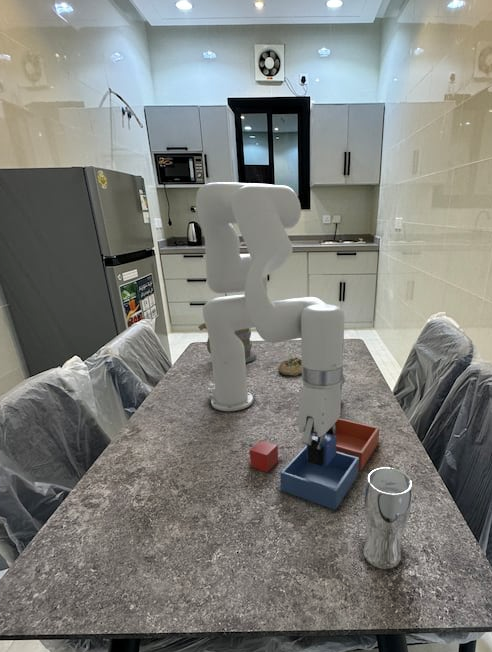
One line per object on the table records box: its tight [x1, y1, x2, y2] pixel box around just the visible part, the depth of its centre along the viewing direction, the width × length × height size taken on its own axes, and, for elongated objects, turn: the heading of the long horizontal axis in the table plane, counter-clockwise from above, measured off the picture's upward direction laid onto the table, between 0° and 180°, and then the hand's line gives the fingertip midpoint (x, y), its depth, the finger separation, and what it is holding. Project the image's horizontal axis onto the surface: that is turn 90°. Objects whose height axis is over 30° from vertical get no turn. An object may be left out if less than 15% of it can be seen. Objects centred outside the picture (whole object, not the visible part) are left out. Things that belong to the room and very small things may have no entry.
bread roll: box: [278, 356, 302, 376], centre depth 138 cm, size 11×11×5 cm
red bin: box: [333, 417, 380, 471], centre depth 91 cm, size 12×12×4 cm
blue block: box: [307, 433, 337, 466], centre depth 77 cm, size 4×4×4 cm
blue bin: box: [279, 444, 359, 511], centre depth 80 cm, size 12×12×4 cm
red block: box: [249, 440, 279, 473], centre depth 86 cm, size 4×4×4 cm
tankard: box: [198, 322, 255, 364], centre depth 148 cm, size 20×13×15 cm, turn 94°
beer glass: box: [363, 467, 413, 570], centre depth 60 cm, size 7×7×15 cm
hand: (321, 455), depth 78 cm, fingers closed on blue block, 4 cm apart
